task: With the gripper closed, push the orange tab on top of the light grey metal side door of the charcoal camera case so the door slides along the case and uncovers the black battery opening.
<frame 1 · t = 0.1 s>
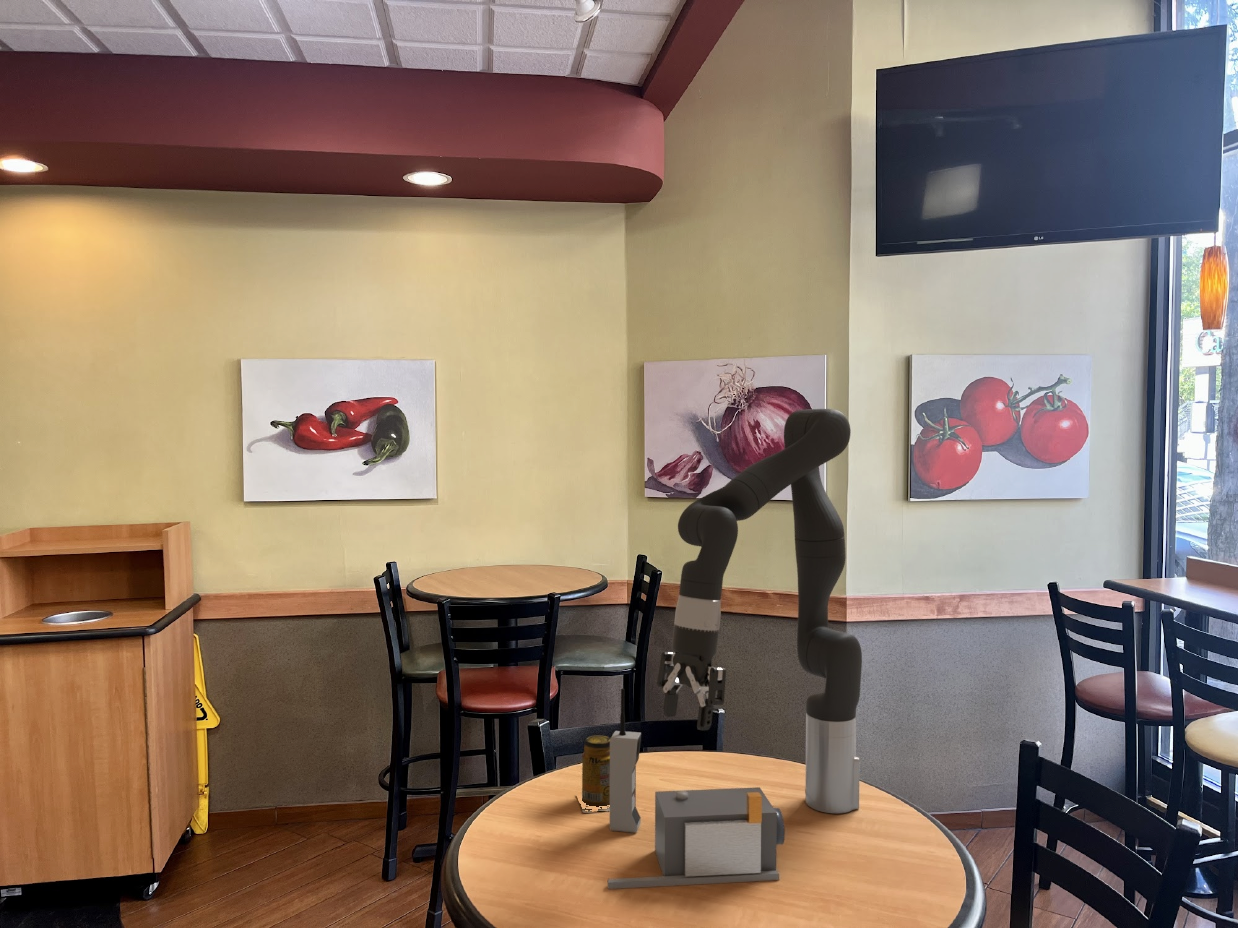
hand: (685, 722, 140), 22 cm above the table, tool pointing down, fingers open, 8 cm apart
side door: (722, 834, 133), point 7 cm above the table, slide at 0.0 cm
vintage mobile phone: (625, 828, 151), on the table
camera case: (713, 862, 139), on the table
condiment: (597, 804, 162), on the table
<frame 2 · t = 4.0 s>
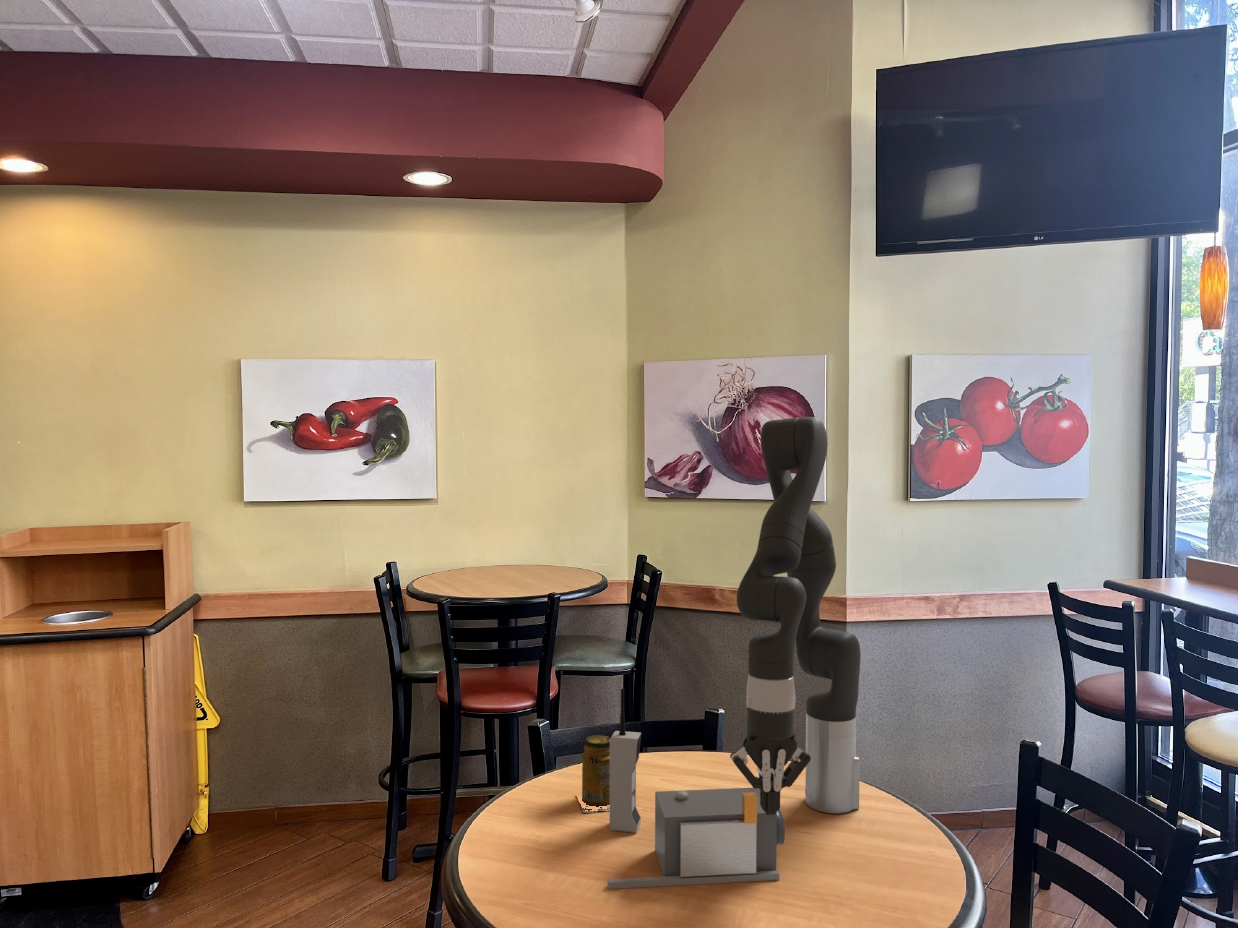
hand: (769, 812, 133), 11 cm above the table, tool pointing down, fingers closed
side door: (718, 834, 132), point 7 cm above the table, slide at 0.8 cm, touching gripper
everything else where it was.
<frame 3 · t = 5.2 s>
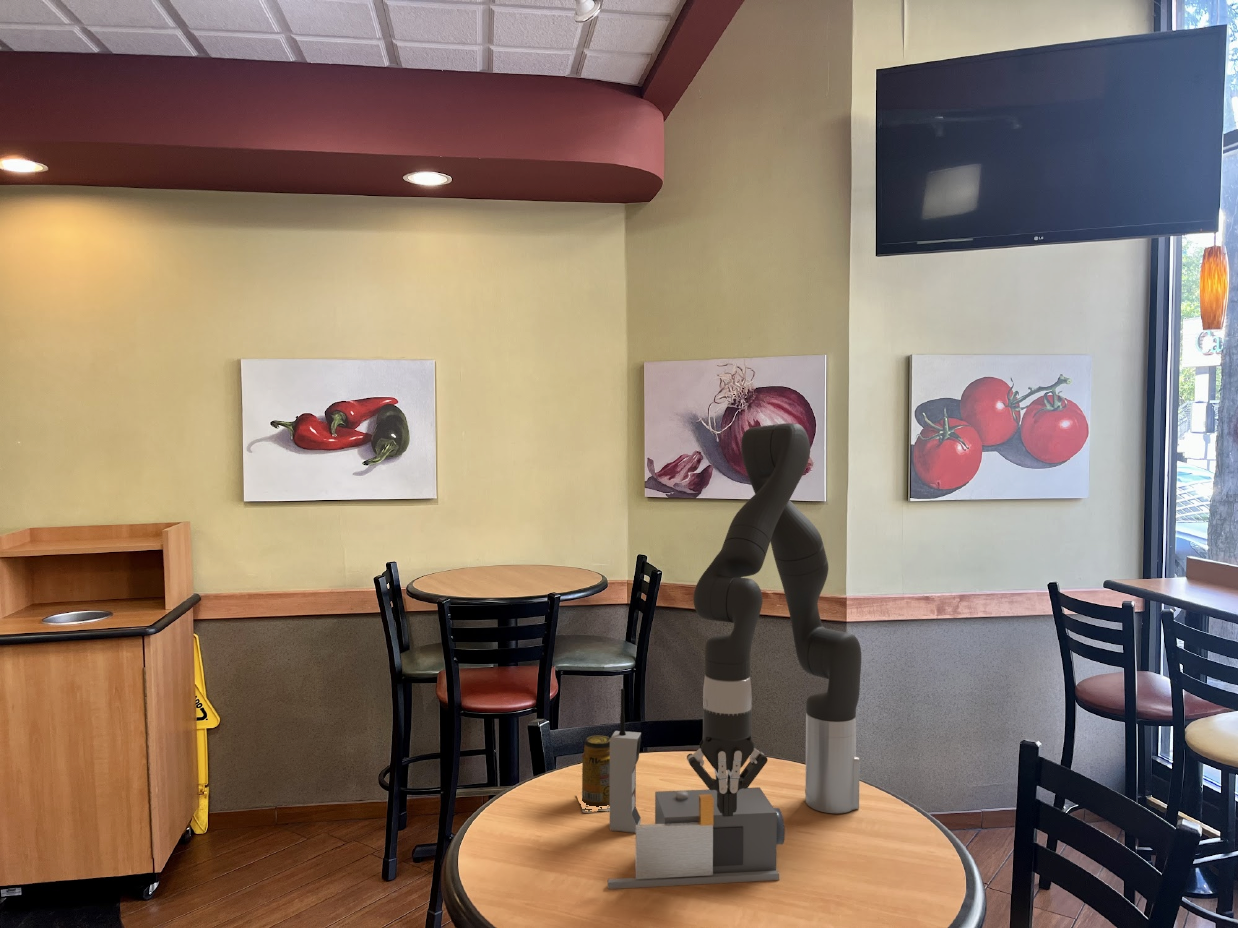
hand: (726, 814, 132), 11 cm above the table, tool pointing down, fingers closed
side door: (674, 836, 132), point 7 cm above the table, slide at 7.7 cm, touching gripper
everything else where it was.
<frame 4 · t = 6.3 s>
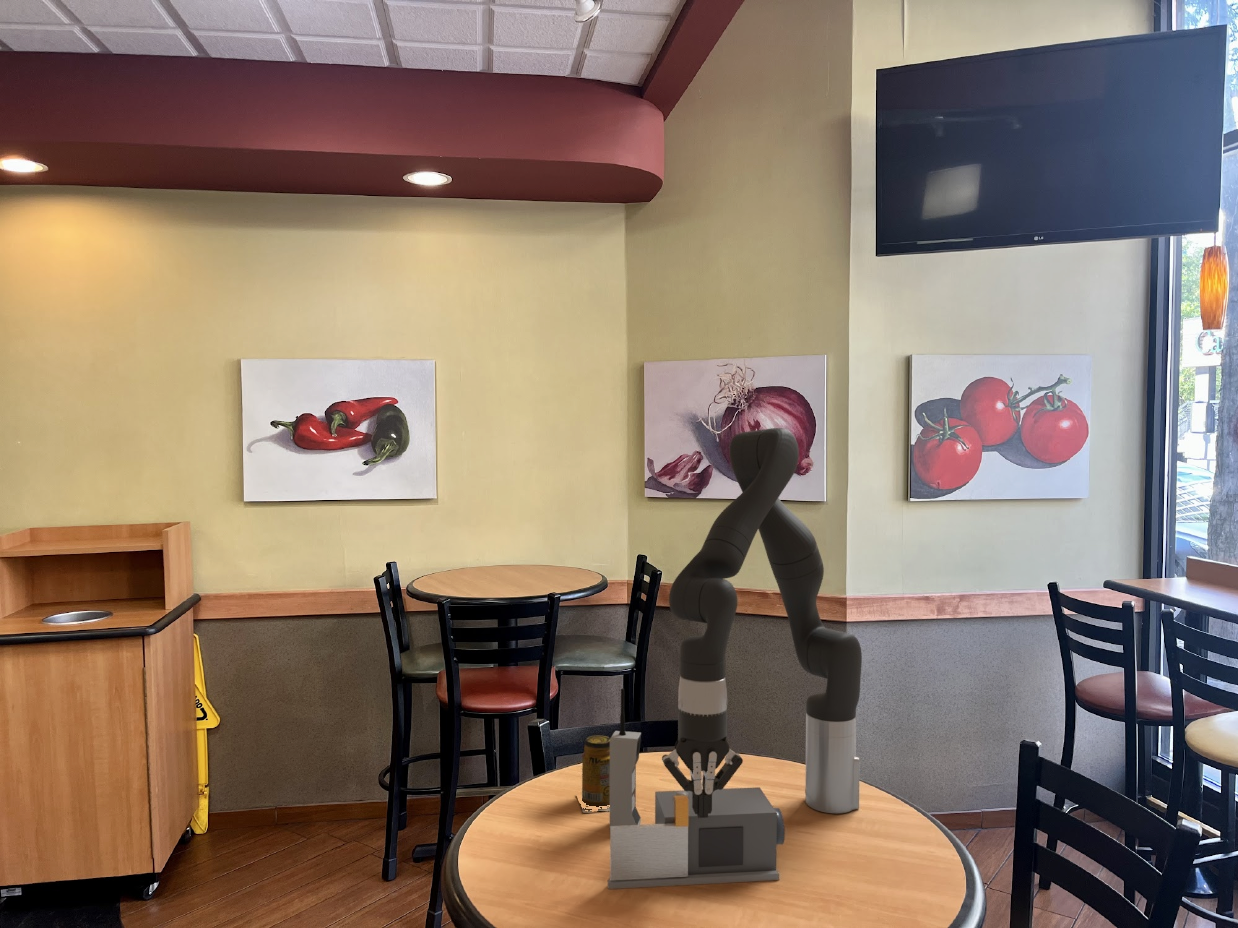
hand: (701, 815, 132), 11 cm above the table, tool pointing down, fingers closed
side door: (649, 837, 131), point 7 cm above the table, slide at 11.6 cm, touching gripper
everything else where it was.
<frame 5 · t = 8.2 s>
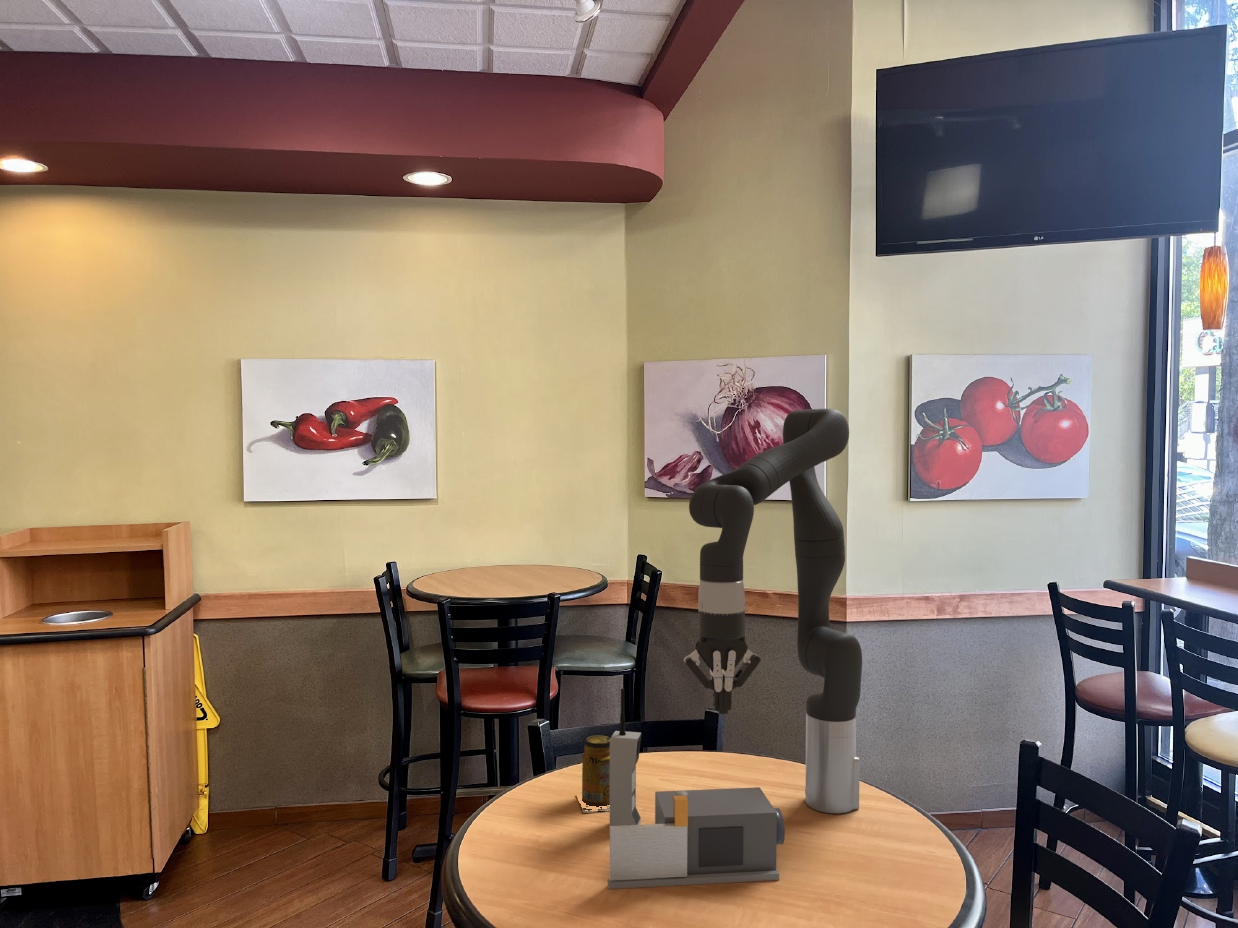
hand: (721, 712, 138), 25 cm above the table, tool pointing down, fingers closed
side door: (648, 837, 131), point 7 cm above the table, slide at 11.7 cm
everything else where it was.
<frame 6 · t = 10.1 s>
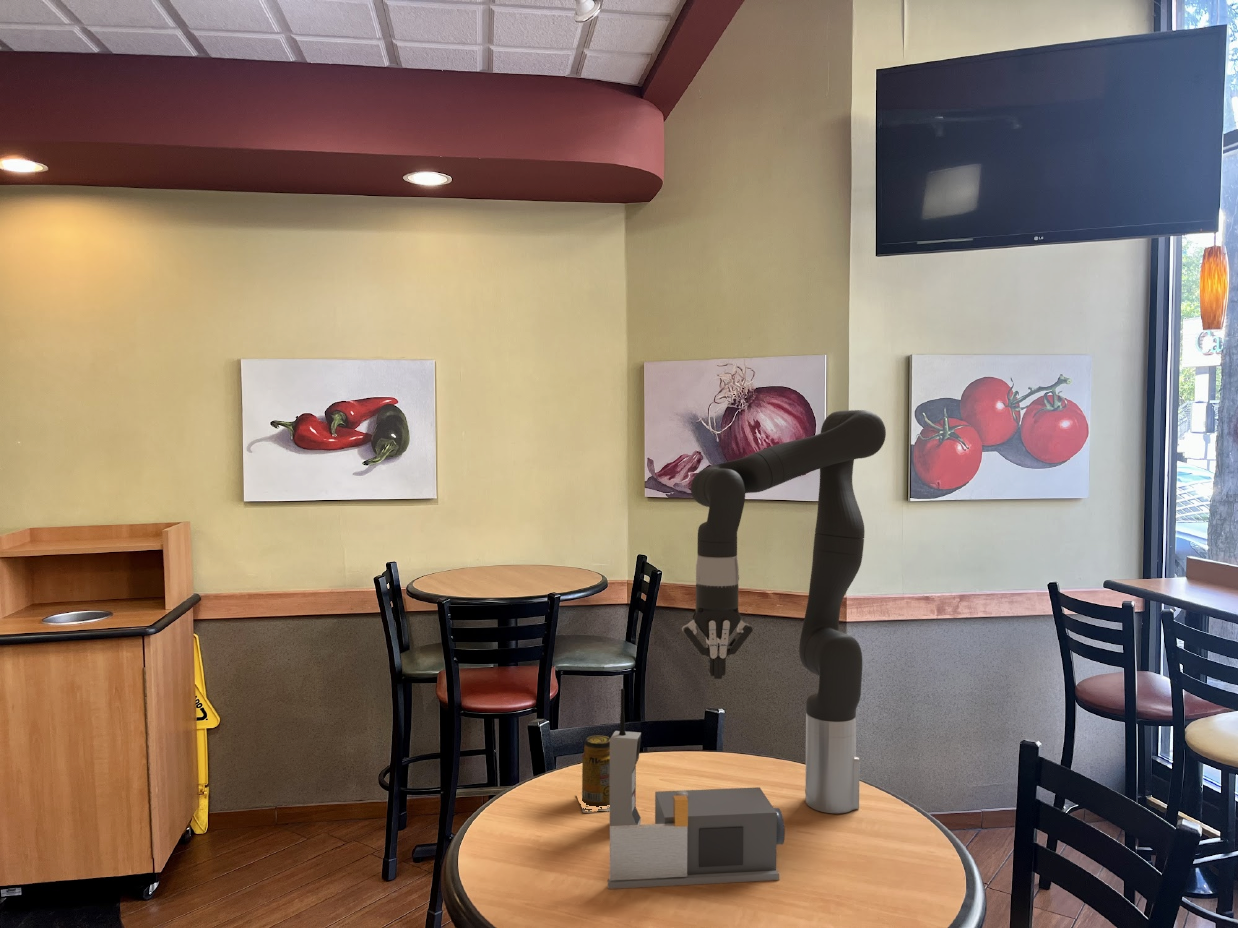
hand: (716, 677, 150), 27 cm above the table, tool pointing down, fingers closed
nothing on the table moved.
at the end: side door slide at 11.7 cm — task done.
